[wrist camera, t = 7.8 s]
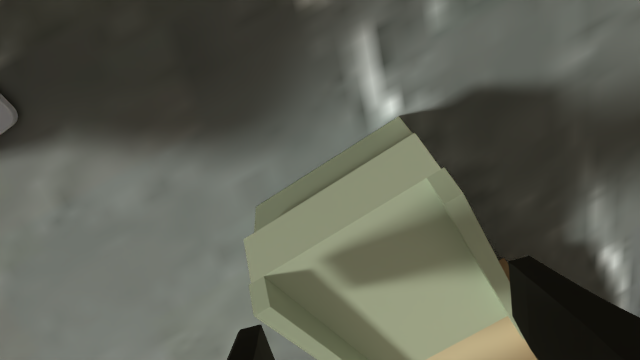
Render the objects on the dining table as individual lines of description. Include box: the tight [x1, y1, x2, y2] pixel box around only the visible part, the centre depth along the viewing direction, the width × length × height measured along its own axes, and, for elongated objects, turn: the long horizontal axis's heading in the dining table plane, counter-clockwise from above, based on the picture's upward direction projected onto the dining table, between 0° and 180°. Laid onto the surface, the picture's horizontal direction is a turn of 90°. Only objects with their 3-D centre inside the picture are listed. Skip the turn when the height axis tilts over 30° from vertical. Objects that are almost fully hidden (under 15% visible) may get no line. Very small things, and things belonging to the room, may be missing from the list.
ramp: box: [244, 117, 524, 360], centre depth 18 cm, size 11×7×6 cm, turn 33°
